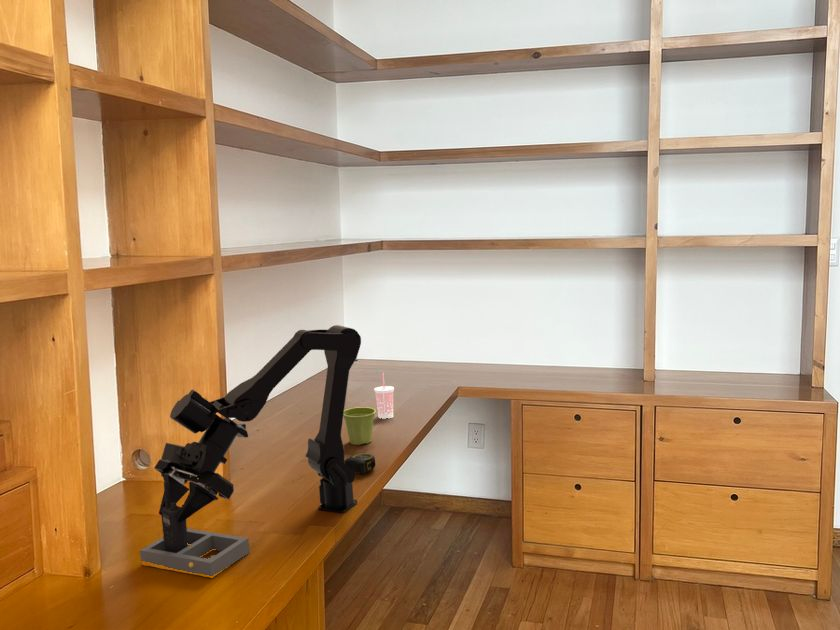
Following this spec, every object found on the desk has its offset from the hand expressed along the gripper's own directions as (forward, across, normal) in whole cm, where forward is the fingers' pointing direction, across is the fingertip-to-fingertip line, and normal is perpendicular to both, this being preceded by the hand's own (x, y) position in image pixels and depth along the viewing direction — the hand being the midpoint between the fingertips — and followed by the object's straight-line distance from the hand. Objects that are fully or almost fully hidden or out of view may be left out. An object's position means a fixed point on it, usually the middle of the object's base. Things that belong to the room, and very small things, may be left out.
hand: (169, 518), depth 147 cm
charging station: (+4, +4, +7) cm, 9 cm away
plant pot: (-45, -20, +57) cm, 76 cm away
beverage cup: (-62, -32, +73) cm, 101 cm away
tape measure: (-33, -3, +45) cm, 55 cm away
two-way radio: (+5, 0, +7) cm, 8 cm away
